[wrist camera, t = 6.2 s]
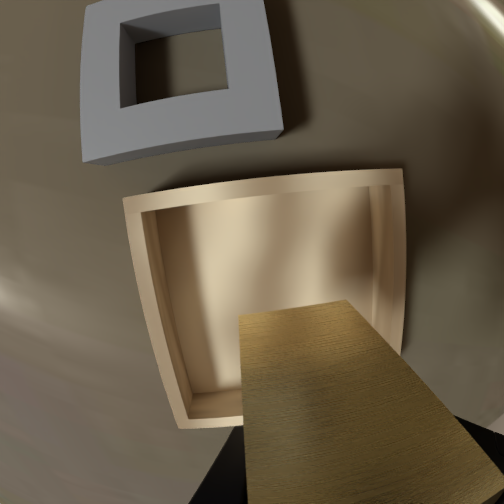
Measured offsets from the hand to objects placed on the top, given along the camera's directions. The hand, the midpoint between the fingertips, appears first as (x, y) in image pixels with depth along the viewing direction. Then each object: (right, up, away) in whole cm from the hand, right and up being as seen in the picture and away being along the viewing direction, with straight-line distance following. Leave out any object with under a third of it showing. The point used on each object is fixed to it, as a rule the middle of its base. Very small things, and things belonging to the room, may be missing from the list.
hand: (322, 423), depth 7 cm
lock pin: (0, +1, +4) cm, 4 cm away
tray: (-1, +2, +11) cm, 11 cm away
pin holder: (-6, +15, +8) cm, 18 cm away
